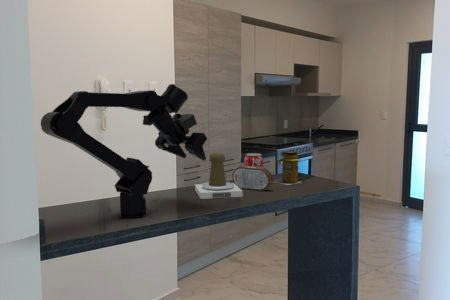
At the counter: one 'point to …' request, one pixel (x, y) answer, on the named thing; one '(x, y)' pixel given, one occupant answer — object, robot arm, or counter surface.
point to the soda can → (253, 160)
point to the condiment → (289, 168)
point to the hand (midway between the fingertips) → (194, 158)
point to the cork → (217, 170)
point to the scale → (218, 191)
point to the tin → (252, 177)
